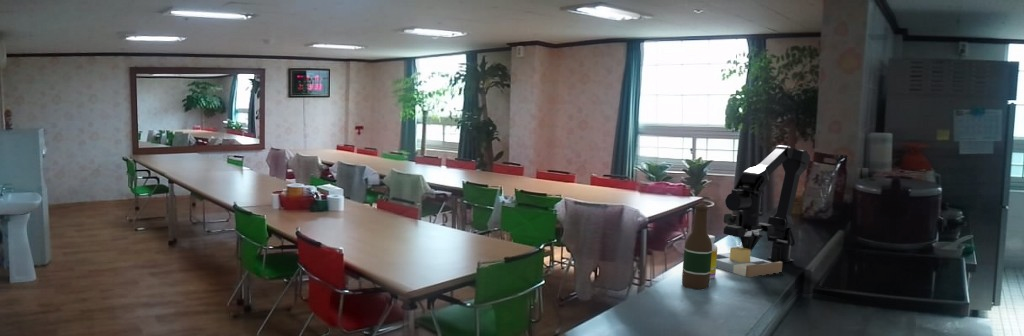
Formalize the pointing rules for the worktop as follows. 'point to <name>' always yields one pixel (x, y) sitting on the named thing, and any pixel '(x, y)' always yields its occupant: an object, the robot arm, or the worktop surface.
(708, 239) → the beer bottle
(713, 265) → the supplement bottle
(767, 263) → the board
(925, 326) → the worktop surface
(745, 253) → the block
